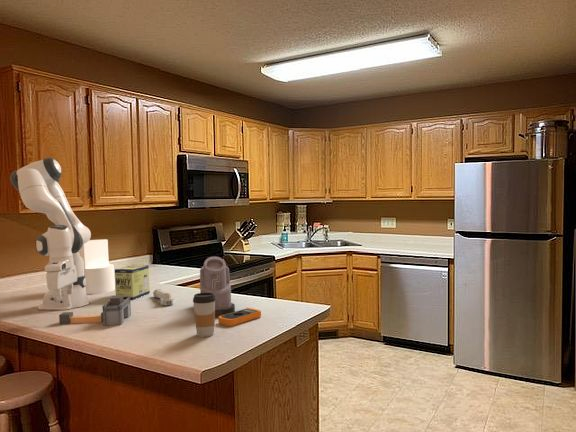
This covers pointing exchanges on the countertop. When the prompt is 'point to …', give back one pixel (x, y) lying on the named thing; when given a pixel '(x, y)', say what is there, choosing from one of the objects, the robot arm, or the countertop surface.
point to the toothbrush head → (163, 297)
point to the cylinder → (97, 267)
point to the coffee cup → (204, 313)
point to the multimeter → (239, 317)
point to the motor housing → (116, 310)
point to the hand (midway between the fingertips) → (64, 296)
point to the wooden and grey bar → (79, 318)
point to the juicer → (217, 284)
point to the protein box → (132, 281)
